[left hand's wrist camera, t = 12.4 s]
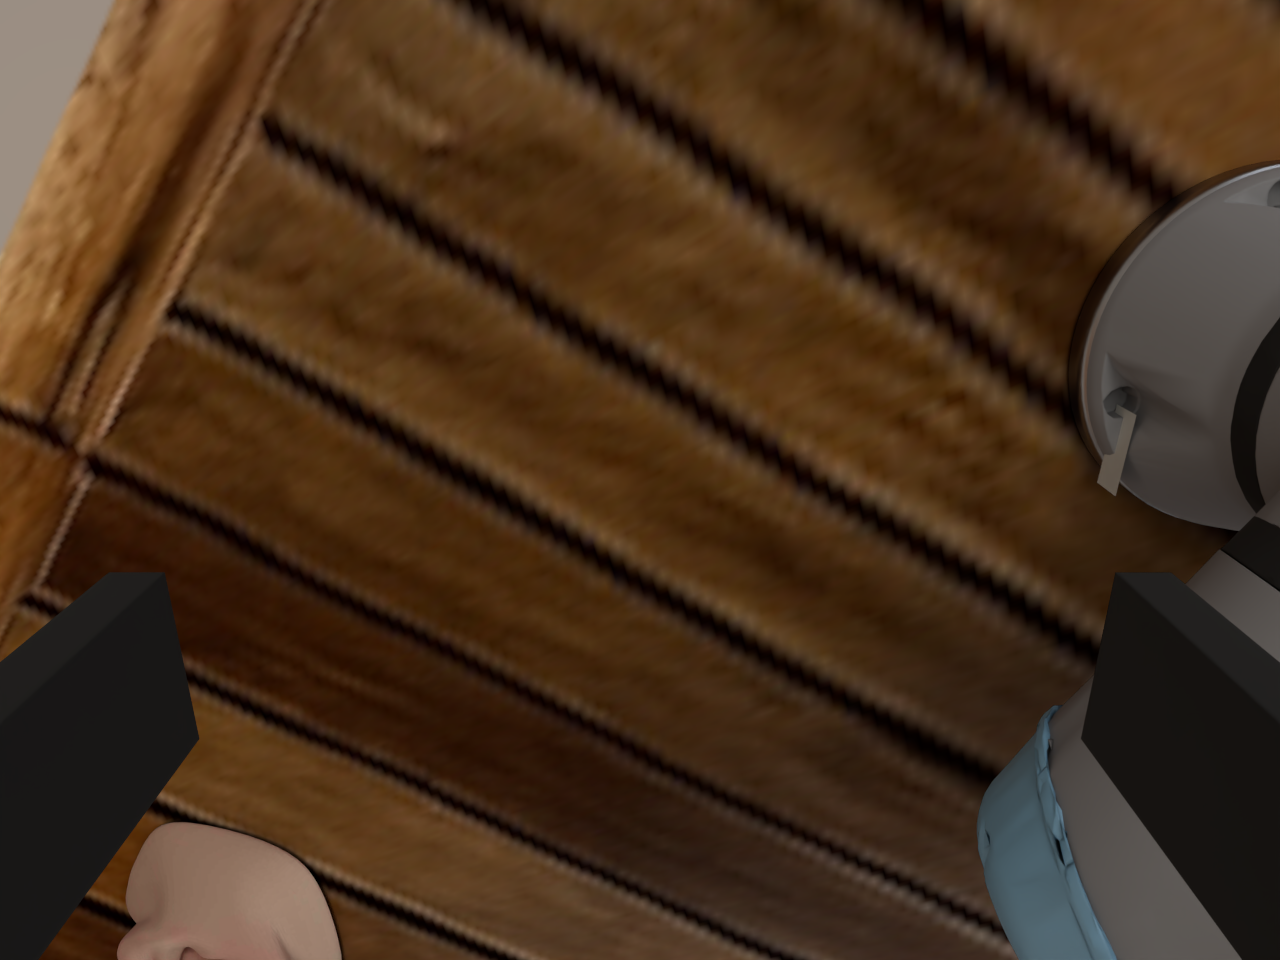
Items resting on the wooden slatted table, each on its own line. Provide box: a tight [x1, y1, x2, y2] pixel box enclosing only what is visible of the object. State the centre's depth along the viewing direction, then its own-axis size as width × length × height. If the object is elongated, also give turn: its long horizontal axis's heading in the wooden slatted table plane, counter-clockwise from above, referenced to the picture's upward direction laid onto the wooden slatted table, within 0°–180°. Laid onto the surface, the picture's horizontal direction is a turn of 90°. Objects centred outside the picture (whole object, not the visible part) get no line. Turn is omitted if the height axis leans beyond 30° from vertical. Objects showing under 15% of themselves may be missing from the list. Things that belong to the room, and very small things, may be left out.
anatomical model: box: [117, 822, 342, 960], centre depth 48 cm, size 13×4×12 cm
